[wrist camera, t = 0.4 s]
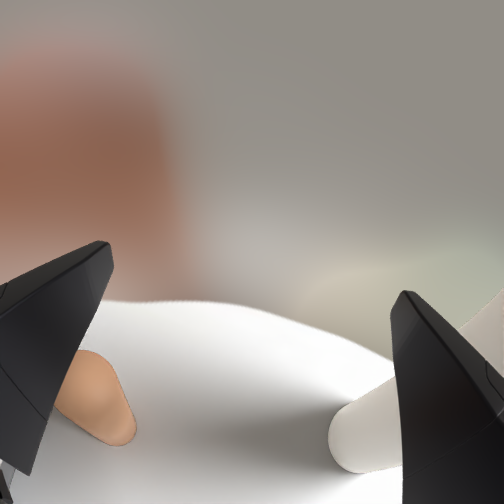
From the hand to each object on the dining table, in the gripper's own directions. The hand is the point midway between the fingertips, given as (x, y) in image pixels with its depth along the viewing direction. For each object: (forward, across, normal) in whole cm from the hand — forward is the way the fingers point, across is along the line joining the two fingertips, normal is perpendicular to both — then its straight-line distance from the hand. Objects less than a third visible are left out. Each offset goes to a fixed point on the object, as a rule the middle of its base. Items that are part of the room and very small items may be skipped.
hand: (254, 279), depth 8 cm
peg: (0, +8, +16) cm, 18 cm away
